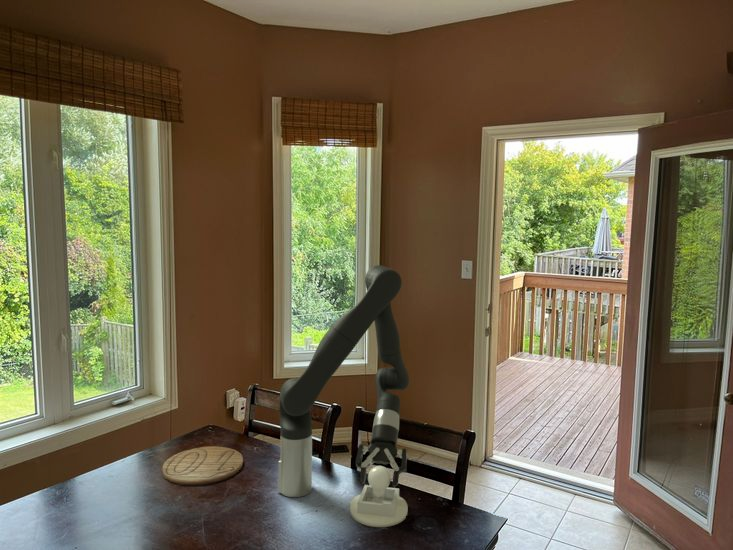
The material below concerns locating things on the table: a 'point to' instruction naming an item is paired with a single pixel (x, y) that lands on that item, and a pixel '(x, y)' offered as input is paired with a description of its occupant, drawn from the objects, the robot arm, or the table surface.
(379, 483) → the lightbulb
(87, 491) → the table surface
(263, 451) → the table surface
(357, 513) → the lamp base
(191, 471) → the trivet
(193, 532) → the table surface
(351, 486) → the table surface
